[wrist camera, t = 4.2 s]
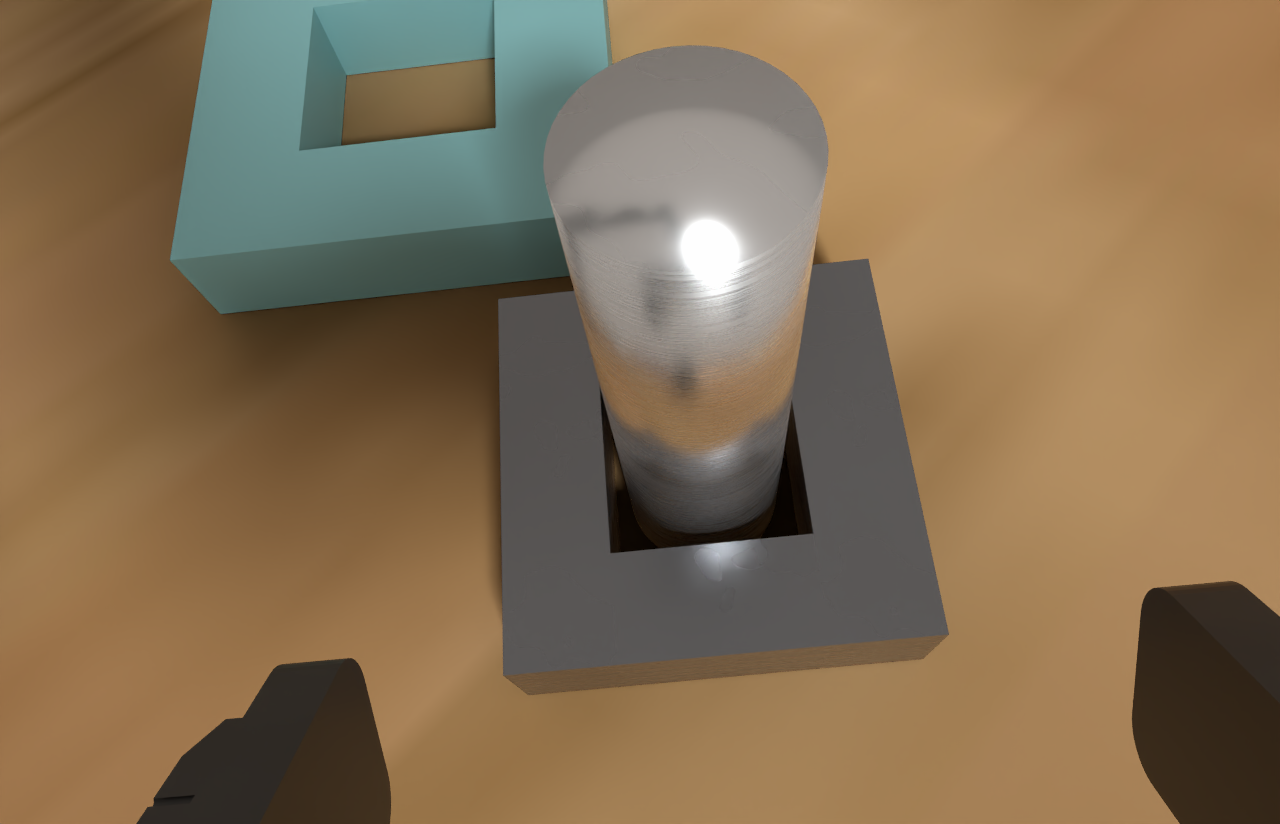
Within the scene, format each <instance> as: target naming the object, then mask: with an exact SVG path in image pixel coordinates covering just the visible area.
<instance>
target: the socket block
mask: <svg viewBox="0 0 1280 824" xmlns="http://www.w3.org/2000/svg"><path fill="white" fill-rule="evenodd" d="M498 321H499V394H500V467H501V539H502V612H503V676H505V677H506V678H507V679H508V680H510V681H511V682H512V683H514V684H515V685H516V686H517V687H519V688H520V689H521V690H523V691H524V692H525V693H526V694H528V695H533V694H544V693H555V692H566V691H577V690H588V689H599V688H610V687H621V686H632V685H642V684H653V683H664V682H675V681H686V680H697V679H708V678H719V677H730V676H741V675H752V674H763V673H774V672H785V671H796V670H807V669H818V668H829V667H840V666H851V665H861V664H872V663H883V662H894V661H905V660H916V659H923V658H924V657H925V656H926V655H928V654H929V653H930V652H931V651H932V650H933V649H934V648H935V647H936V646H937V645H938V644H939V643H940V642H941V641H942V640H944V639H945V638H946V637H947V636H948V635H949V633H948V628H947V623H946V619H945V614H944V609H943V605H942V600H941V595H940V591H939V586H938V581H937V577H936V572H935V567H934V563H933V558H932V554H931V549H930V544H929V540H928V535H927V530H926V526H925V521H924V516H923V512H922V507H921V502H920V498H919V493H918V488H917V484H916V479H915V474H914V470H913V465H912V460H911V456H910V451H909V446H908V442H907V437H906V432H905V428H904V423H903V418H902V414H901V409H900V405H899V400H898V395H897V391H896V386H895V381H894V377H893V372H892V367H891V363H890V358H889V353H888V349H887V344H886V339H885V335H884V330H883V325H882V321H881V316H880V311H879V307H878V302H877V297H876V293H875V288H874V283H873V279H872V274H871V269H870V265H869V260H868V259H862V260H852V261H843V262H834V263H825V264H816V265H812V270H811V277H810V283H809V290H808V296H807V303H806V310H805V316H804V323H803V329H802V336H801V342H800V349H799V355H798V362H797V368H796V375H795V381H794V388H793V394H792V401H791V407H790V414H789V420H788V427H787V433H786V440H785V451H786V457H787V464H788V470H789V477H790V483H791V490H792V496H793V503H794V509H795V516H796V522H797V529H798V535H795V536H784V537H774V538H764V539H753V540H743V541H733V542H722V543H712V544H702V545H692V546H681V547H671V548H661V549H650V550H640V551H630V552H620V540H619V526H618V511H617V497H616V482H615V468H614V453H613V439H612V430H611V426H610V422H609V418H608V415H607V411H606V407H605V404H604V400H603V396H602V392H601V389H600V385H599V381H598V377H597V374H596V370H595V366H594V363H593V359H592V355H591V351H590V348H589V344H588V340H587V337H586V333H585V329H584V325H583V322H582V318H581V314H580V310H579V307H578V303H577V299H576V296H575V292H574V291H567V292H558V293H549V294H540V295H531V296H521V297H512V298H503V299H498Z"/></svg>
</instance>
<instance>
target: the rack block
mask: <svg viewBox="0 0 1280 824" xmlns="http://www.w3.org/2000/svg"><path fill="white" fill-rule="evenodd" d="M487 58H495V103H496V128H490V129H482V130H473V131H464V132H456V133H447V134H439V135H430V136H421V137H413V138H404V139H396V140H387V141H378V142H370V143H361V144H353V145H344V146H341V141H342V128H343V115H344V102H345V88H346V75H353V74H361V73H369V72H378V71H386V70H395V69H403V68H411V67H420V66H428V65H436V64H445V63H453V62H462V61H470V60H478V59H487ZM611 65H612V54H611V42H610V31H609V19H608V7H607V0H212V6H211V12H210V19H209V25H208V31H207V37H206V43H205V49H204V55H203V61H202V67H201V74H200V80H199V86H198V92H197V98H196V104H195V110H194V116H193V122H192V128H191V135H190V141H189V147H188V153H187V159H186V165H185V171H184V177H183V183H182V189H181V196H180V202H179V208H178V214H177V220H176V226H175V232H174V238H173V244H172V250H171V257H170V261H171V262H172V263H173V264H174V265H175V266H176V267H177V268H178V270H179V271H180V272H181V273H182V274H183V275H184V276H185V277H186V278H187V279H188V280H189V281H190V282H191V283H192V284H193V285H194V286H195V288H196V289H197V290H198V291H199V292H200V293H201V294H202V295H203V296H204V297H205V298H206V299H207V300H208V301H209V302H210V303H211V304H212V306H213V307H214V308H215V309H216V310H217V311H218V312H219V313H220V314H226V313H235V312H244V311H253V310H262V309H271V308H281V307H290V306H299V305H308V304H317V303H326V302H335V301H344V300H354V299H363V298H372V297H381V296H390V295H399V294H408V293H418V292H427V291H436V290H445V289H454V288H463V287H472V286H481V285H491V284H500V283H509V282H518V281H527V280H536V279H545V278H555V277H564V276H570V273H569V269H568V266H567V262H566V258H565V255H564V251H563V247H562V243H561V240H560V236H559V232H558V228H557V225H556V221H555V217H554V214H553V210H552V206H551V202H550V199H549V195H548V191H547V187H546V184H545V177H544V169H543V163H544V150H545V145H546V140H547V137H548V134H549V131H550V129H551V126H552V124H553V122H554V120H555V118H556V116H557V115H558V113H559V111H560V110H561V108H562V107H563V106H564V104H565V103H566V102H567V100H568V99H569V98H570V97H571V96H572V95H573V94H574V93H575V91H576V90H577V89H578V88H579V87H580V86H582V85H583V84H584V83H585V82H587V81H588V80H589V79H590V78H591V77H593V76H594V75H596V74H597V73H599V72H601V71H602V70H604V69H605V68H607V67H609V66H611Z"/></svg>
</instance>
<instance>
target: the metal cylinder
mask: <svg viewBox="0 0 1280 824" xmlns="http://www.w3.org/2000/svg"><path fill="white" fill-rule="evenodd" d="M827 166H828V143H827V135H826V132H825V128H824V125H823V121H822V119H821V117H820V115H819V113H818V111H817V109H816V107H815V105H814V104H813V102H812V101H811V100H810V98H809V97H808V95H807V94H806V93H805V92H804V91H803V90H802V89H801V87H800V86H799V85H798V84H797V83H796V82H794V81H793V80H792V79H791V78H790V77H788V76H787V75H786V74H785V73H783V72H782V71H780V70H778V69H777V68H775V67H774V66H772V65H770V64H768V63H766V62H764V61H762V60H760V59H758V58H756V57H753V56H750V55H747V54H744V53H741V52H738V51H734V50H729V49H725V48H718V47H710V46H690V45H688V46H674V47H667V48H661V49H655V50H651V51H647V52H643V53H640V54H636V55H634V56H631V57H628V58H626V59H623V60H621V61H619V62H617V63H615V64H613V65H611V66H609V67H607V68H605V69H604V70H602V71H601V72H599V73H597V74H596V75H594V76H593V77H591V78H590V79H589V80H588V81H587V82H585V83H584V84H583V85H582V86H580V87H579V88H578V89H577V90H576V91H575V93H574V94H573V95H572V96H571V97H570V98H569V99H568V100H567V102H566V103H565V104H564V106H563V107H562V108H561V110H560V111H559V113H558V115H557V116H556V118H555V120H554V122H553V124H552V126H551V129H550V131H549V134H548V137H547V140H546V145H545V150H544V163H543V169H544V177H545V184H546V187H547V191H548V195H549V199H550V202H551V206H552V210H553V214H554V217H555V221H556V225H557V228H558V232H559V236H560V240H561V243H562V247H563V251H564V255H565V258H566V262H567V266H568V269H569V273H570V277H571V281H572V284H573V288H574V292H575V296H576V299H577V303H578V307H579V310H580V314H581V318H582V322H583V325H584V329H585V333H586V337H587V340H588V344H589V348H590V351H591V355H592V359H593V363H594V366H595V370H596V374H597V377H598V381H599V385H600V389H601V392H602V396H603V400H604V404H605V407H606V411H607V415H608V418H609V422H610V426H611V430H612V433H613V437H614V441H615V445H616V448H617V452H618V456H619V459H620V463H621V467H622V471H623V474H624V478H625V482H626V486H627V489H628V493H629V497H630V500H631V504H632V508H633V511H634V515H635V518H636V520H637V522H638V524H639V526H640V528H641V529H642V531H643V532H644V534H645V535H646V536H647V537H648V538H649V540H650V541H651V542H653V543H654V544H655V545H656V546H657V547H659V548H660V549H661V548H671V547H681V546H692V545H702V544H712V543H722V542H733V541H743V540H753V539H759V538H760V537H761V536H762V534H763V533H764V531H765V530H766V529H767V527H768V525H769V523H770V521H771V519H772V516H773V513H774V509H775V504H776V499H777V492H778V486H779V479H780V473H781V466H782V460H783V453H784V446H785V440H786V433H787V427H788V420H789V414H790V407H791V401H792V394H793V388H794V381H795V375H796V368H797V362H798V355H799V349H800V342H801V336H802V329H803V323H804V316H805V310H806V303H807V296H808V290H809V283H810V277H811V270H812V264H813V257H814V251H815V244H816V238H817V231H818V225H819V218H820V212H821V205H822V199H823V192H824V186H825V179H826V173H827Z"/></svg>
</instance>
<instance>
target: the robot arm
mask: <svg viewBox="0 0 1280 824" xmlns="http://www.w3.org/2000/svg"><path fill="white" fill-rule="evenodd" d="M1132 727H1133V735H1134V740H1135V745H1136V748H1137V752H1138V755H1139V758H1140V761H1141V764H1142V766H1143V768H1144V771H1145V773H1146V775H1147V776H1148V778H1149V780H1150V782H1151V783H1152V785H1153V786H1154V788H1155V789H1156V791H1157V792H1158V793H1159V795H1160V796H1161V798H1162V799H1163V800H1164V802H1165V803H1166V805H1167V806H1168V807H1169V809H1170V810H1171V812H1172V813H1173V815H1174V816H1175V817H1176V819H1177V820H1178V822H1179V823H1180V824H1280V617H1279V616H1278V615H1277V614H1276V613H1275V612H1273V611H1272V610H1271V609H1270V608H1269V607H1268V606H1266V605H1265V604H1264V603H1263V602H1262V601H1261V600H1260V599H1258V598H1257V597H1256V596H1255V595H1254V594H1253V593H1251V592H1250V591H1249V590H1248V589H1247V588H1245V587H1244V586H1243V585H1241V584H1239V583H1237V582H1233V581H1226V582H1215V583H1204V584H1193V585H1182V586H1171V587H1160V588H1153V589H1151V590H1150V591H1149V592H1148V593H1147V594H1146V596H1145V598H1144V600H1143V604H1142V609H1141V617H1140V629H1139V641H1138V652H1137V664H1136V676H1135V687H1134V699H1133V710H1132ZM390 815H391V792H390V782H389V777H388V772H387V768H386V764H385V760H384V756H383V752H382V748H381V744H380V740H379V736H378V732H377V728H376V724H375V720H374V716H373V712H372V707H371V703H370V699H369V695H368V691H367V687H366V683H365V679H364V676H363V673H362V670H361V668H360V666H359V664H358V663H357V662H356V661H355V660H354V659H352V658H347V659H336V660H325V661H314V662H303V663H292V664H281V665H279V666H277V667H276V668H275V669H273V671H272V672H271V673H270V675H269V677H268V678H267V680H266V681H265V683H264V685H263V686H262V688H261V689H260V691H259V693H258V694H257V696H256V697H255V699H254V701H253V702H252V704H251V706H250V707H249V709H248V710H247V712H246V714H245V715H244V717H243V718H235V719H226V720H224V721H223V722H222V723H221V724H220V725H219V726H217V727H216V728H215V729H214V730H213V731H211V732H210V733H209V734H208V735H207V736H206V737H204V738H203V739H202V740H201V741H200V742H198V743H197V744H196V745H195V746H194V747H192V748H191V749H190V750H189V751H188V752H187V753H185V754H184V755H183V756H182V757H181V759H180V760H179V762H178V763H177V764H176V766H175V767H174V769H173V770H172V772H171V773H170V775H169V776H168V778H167V779H166V781H165V782H164V784H163V785H162V787H161V788H160V790H159V791H158V793H157V794H156V796H155V797H154V805H153V807H147V809H146V810H145V812H144V813H143V815H142V816H141V818H140V819H139V821H138V822H137V824H390Z"/></svg>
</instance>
